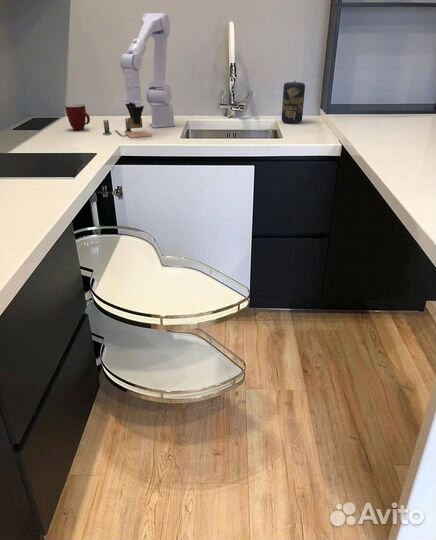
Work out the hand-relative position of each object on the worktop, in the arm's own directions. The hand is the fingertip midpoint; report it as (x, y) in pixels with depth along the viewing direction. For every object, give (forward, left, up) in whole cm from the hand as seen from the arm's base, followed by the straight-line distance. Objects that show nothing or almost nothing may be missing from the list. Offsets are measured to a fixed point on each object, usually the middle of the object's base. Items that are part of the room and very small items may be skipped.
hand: (135, 122), depth 186 cm
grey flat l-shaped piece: (+5, -5, -5) cm, 9 cm away
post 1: (+11, -6, -5) cm, 14 cm away
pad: (0, 0, -5) cm, 5 cm away
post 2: (+2, -6, -5) cm, 8 cm away
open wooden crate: (0, 0, -2) cm, 2 cm away
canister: (-72, +2, -5) cm, 72 cm away
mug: (+20, -19, -5) cm, 28 cm away
